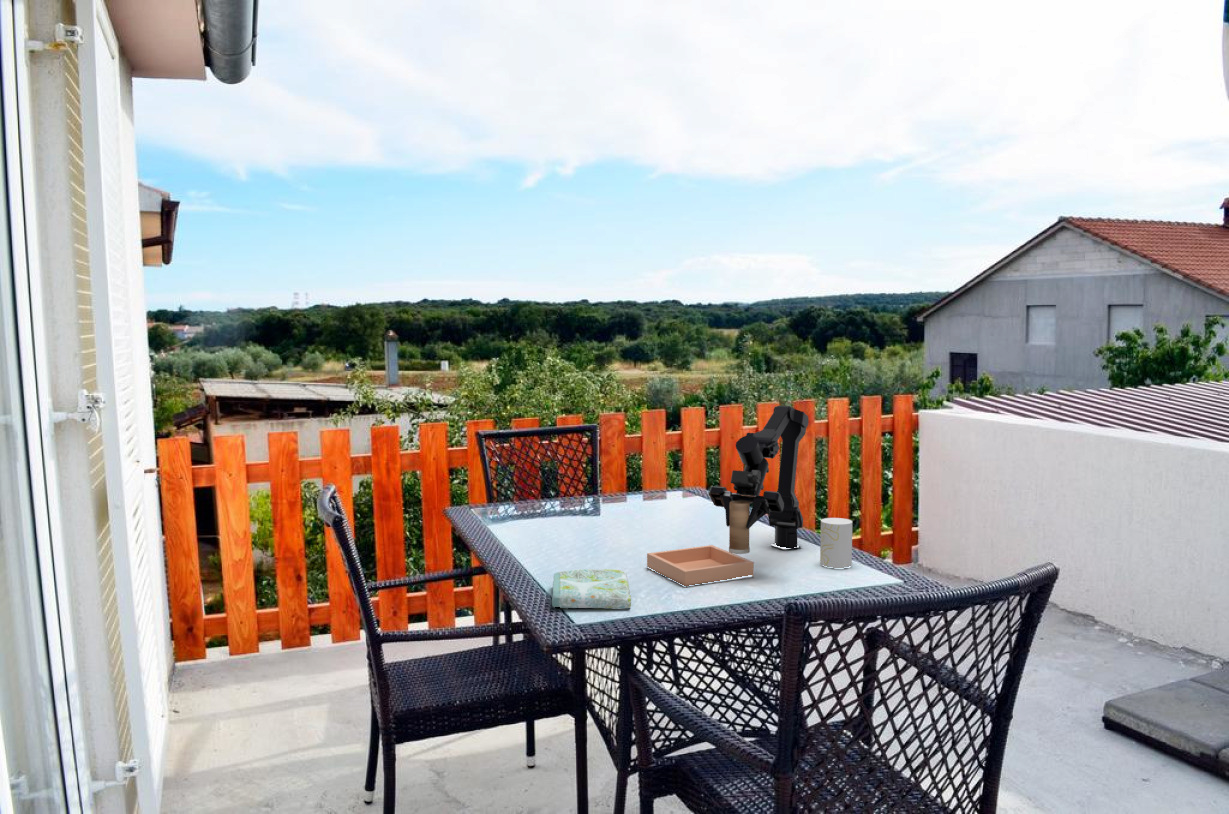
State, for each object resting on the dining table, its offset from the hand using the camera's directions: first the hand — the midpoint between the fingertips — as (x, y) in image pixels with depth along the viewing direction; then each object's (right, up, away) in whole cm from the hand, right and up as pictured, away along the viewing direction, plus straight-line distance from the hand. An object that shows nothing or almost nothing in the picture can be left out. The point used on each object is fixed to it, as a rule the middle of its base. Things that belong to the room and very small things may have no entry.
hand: (737, 526), depth 235 cm
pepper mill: (+1, -6, +2) cm, 7 cm away
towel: (-36, -16, -13) cm, 42 cm away
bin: (-9, -13, +8) cm, 17 cm away
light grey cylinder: (+28, -12, +14) cm, 34 cm away
